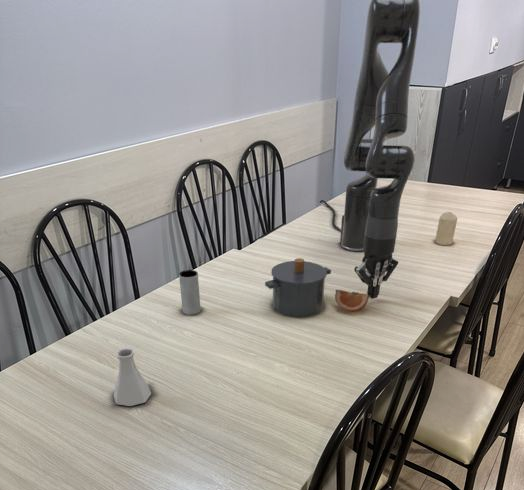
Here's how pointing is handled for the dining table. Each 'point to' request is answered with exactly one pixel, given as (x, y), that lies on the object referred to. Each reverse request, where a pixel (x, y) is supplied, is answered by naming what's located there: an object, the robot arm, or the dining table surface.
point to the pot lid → (299, 272)
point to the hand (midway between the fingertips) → (372, 297)
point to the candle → (446, 229)
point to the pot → (297, 297)
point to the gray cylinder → (190, 292)
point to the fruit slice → (351, 300)
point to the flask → (129, 381)
